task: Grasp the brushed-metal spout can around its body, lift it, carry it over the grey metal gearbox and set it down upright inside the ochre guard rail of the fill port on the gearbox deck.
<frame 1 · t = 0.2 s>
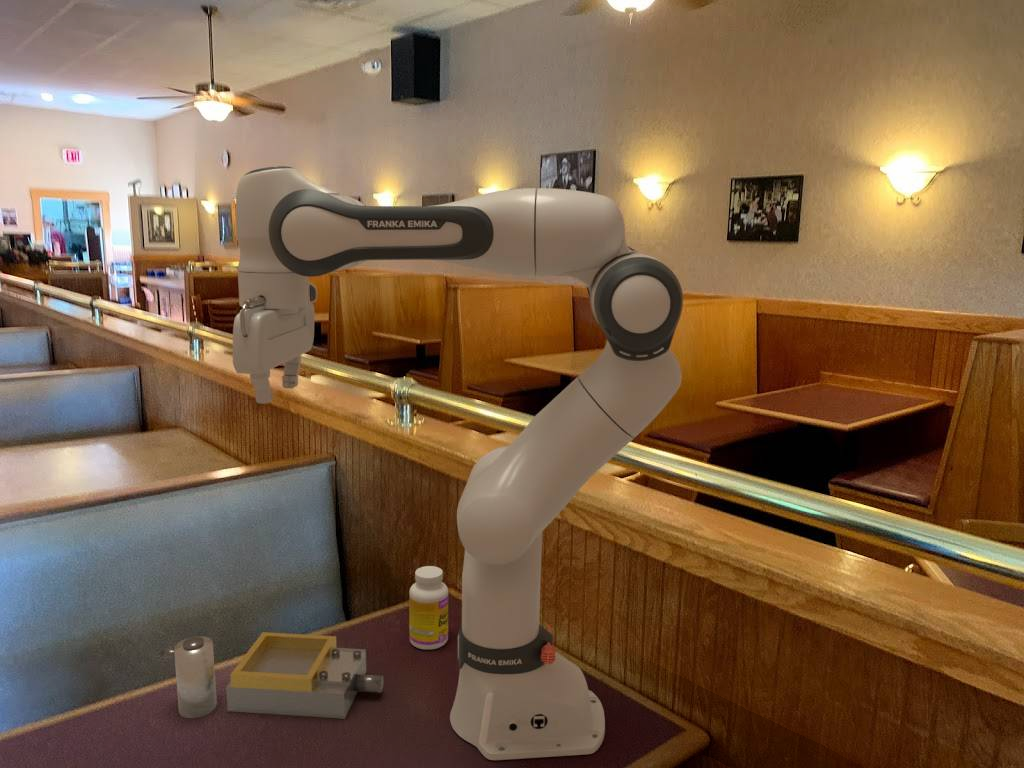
hand: (278, 394, 106), 47 cm above the table, fingers open, 8 cm apart
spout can: (197, 707, 114), on the table
gearbox: (300, 690, 119), on the table
supplement bottle: (429, 642, 134), on the table
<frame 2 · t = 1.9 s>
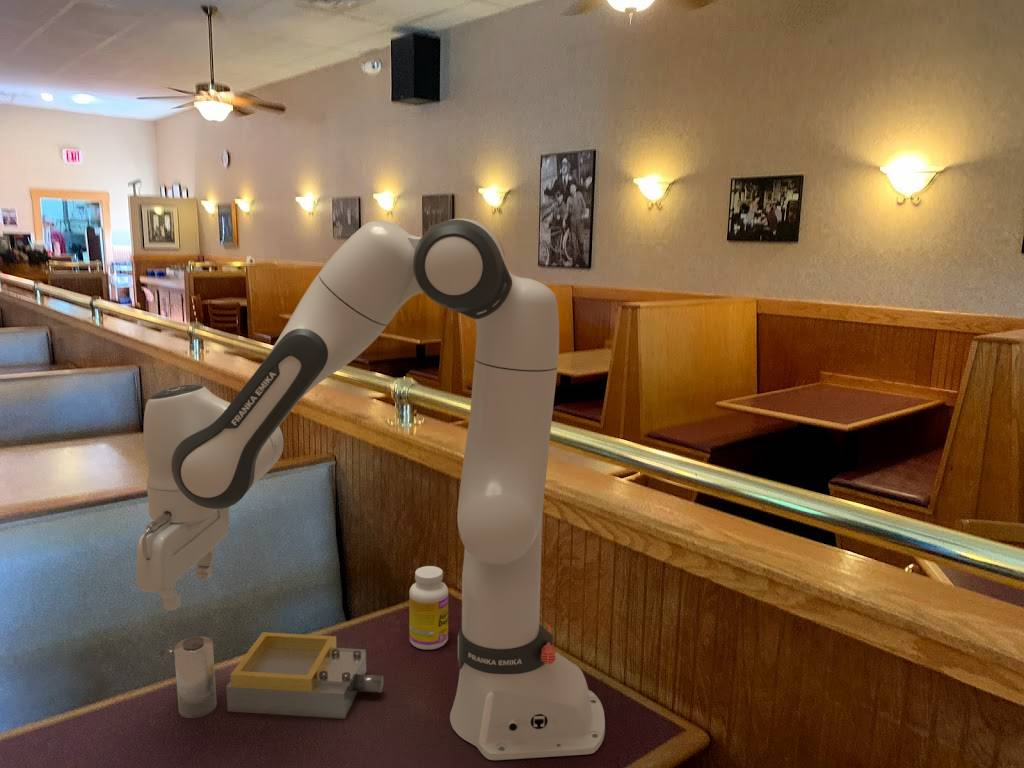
hand: (189, 592, 111), 18 cm above the table, fingers open, 8 cm apart
nothing on the table moved.
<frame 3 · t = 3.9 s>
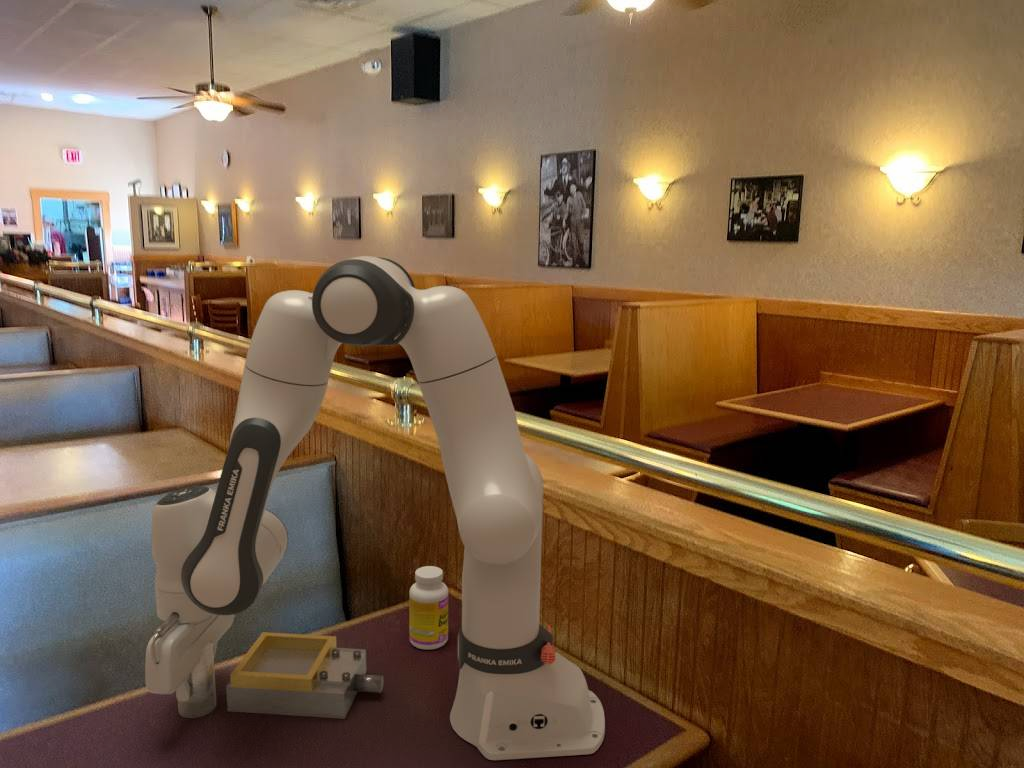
hand: (196, 684, 114), 4 cm above the table, fingers closed on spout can, 5 cm apart
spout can: (197, 707, 114), on the table, touching gripper
everything else where it was.
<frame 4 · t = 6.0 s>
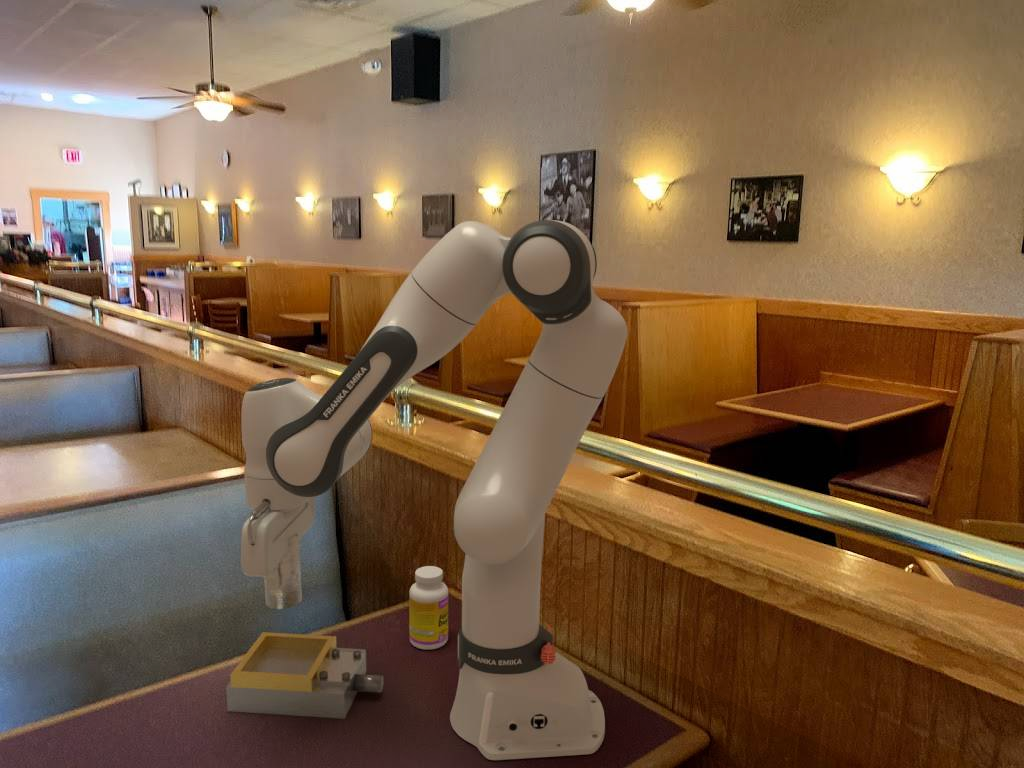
hand: (282, 578, 115), 19 cm above the table, fingers closed on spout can, 5 cm apart
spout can: (283, 600, 116), point 15 cm above the table, touching gripper
everything else where it was.
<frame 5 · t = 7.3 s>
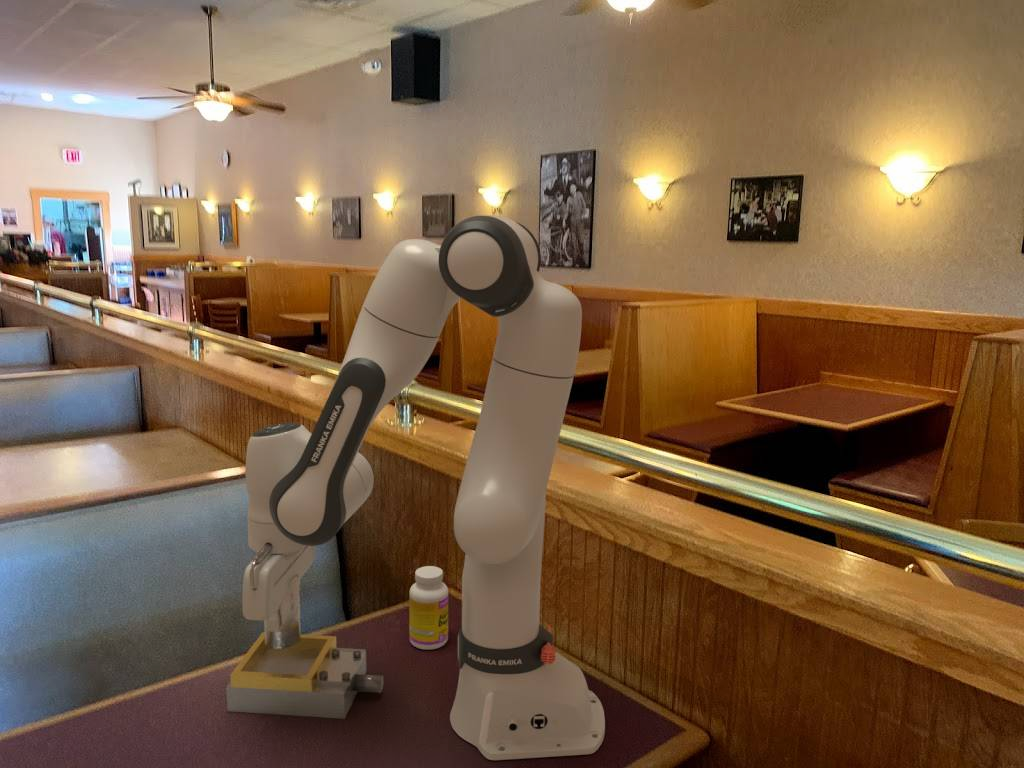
hand: (282, 617, 117), 12 cm above the table, fingers closed on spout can, 5 cm apart
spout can: (282, 639, 117), point 8 cm above the table, touching gripper
everything else where it was.
when the fingers open (9 cm above the table, at t = 8.4 s): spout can drops 1 cm, resting on gearbox.
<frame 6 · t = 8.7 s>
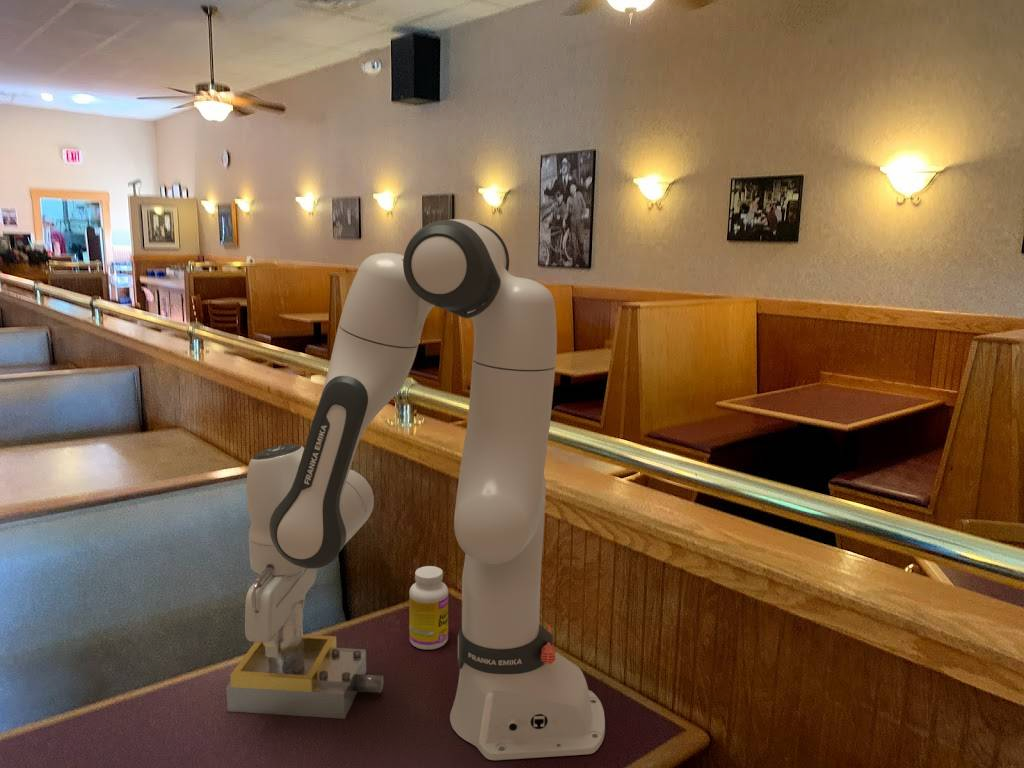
hand: (285, 637, 117), 9 cm above the table, fingers open, 8 cm apart
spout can: (286, 666, 118), point 4 cm above the table, touching gearbox
everything else where it was.
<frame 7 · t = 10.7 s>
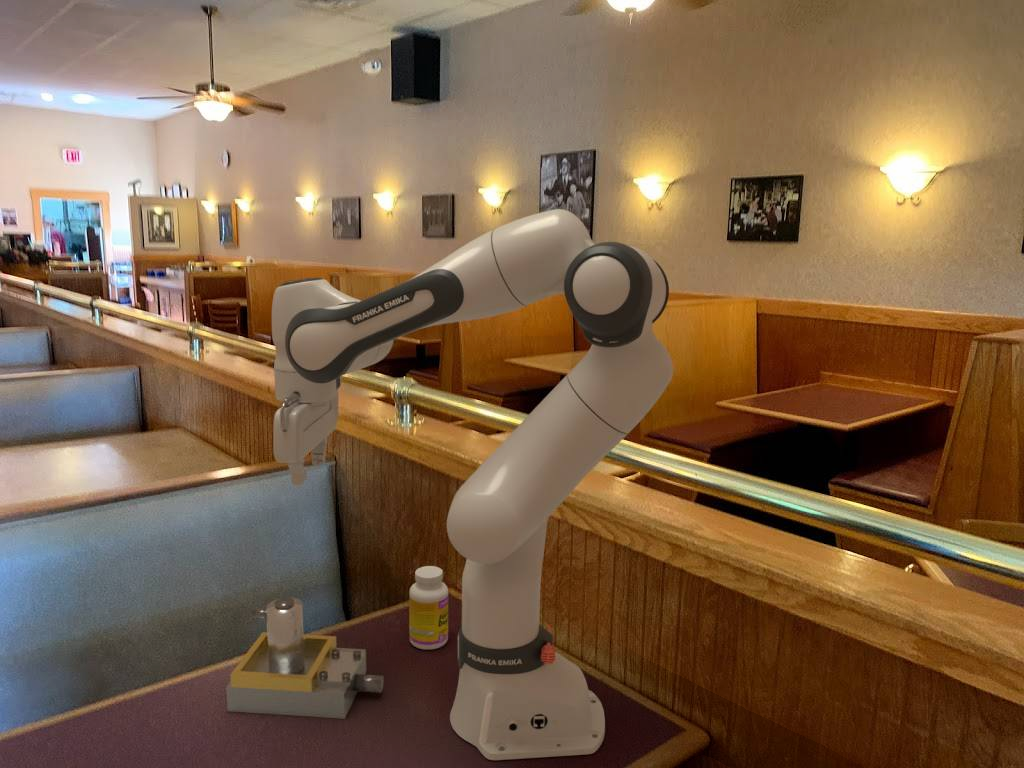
hand: (309, 473, 120), 32 cm above the table, fingers open, 8 cm apart
nothing on the table moved.
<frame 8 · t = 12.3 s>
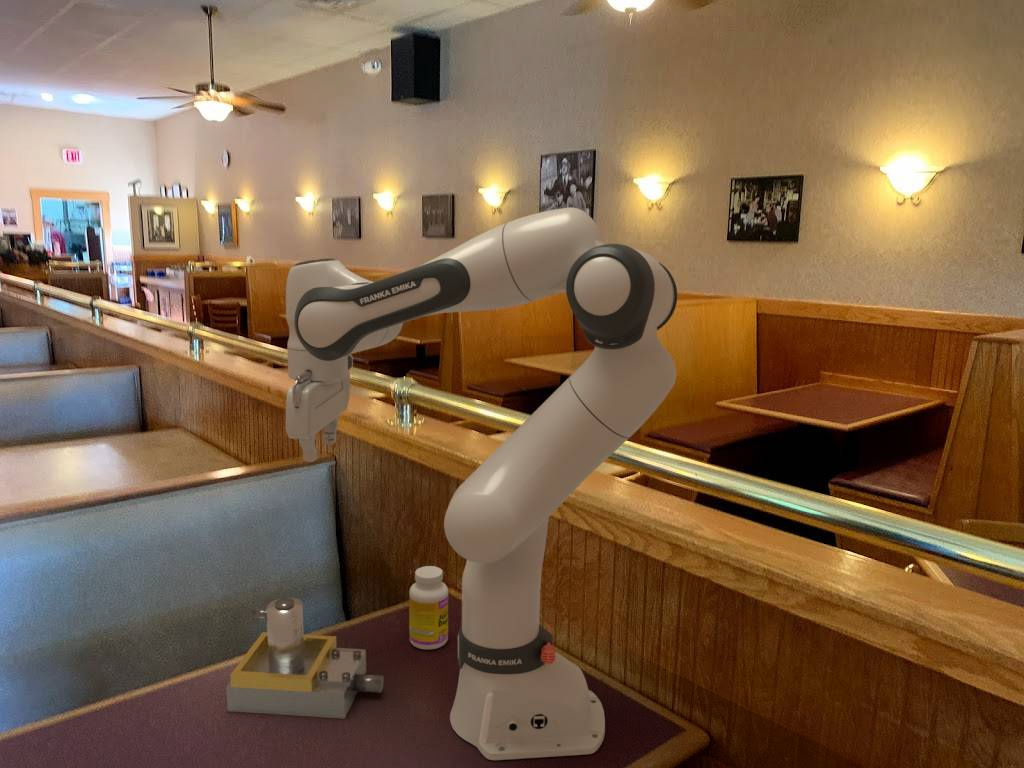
hand: (320, 451, 122), 35 cm above the table, fingers open, 8 cm apart
nothing on the table moved.
at the end: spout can inside the target area (0.1 cm from its centre), point 4.0 cm above the table; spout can tilted 1°; the gripper is holding nothing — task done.
